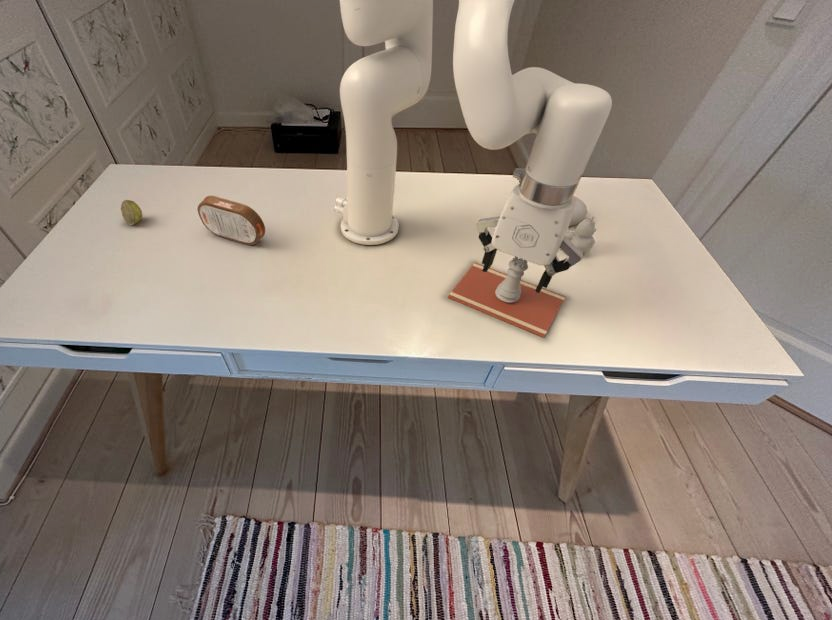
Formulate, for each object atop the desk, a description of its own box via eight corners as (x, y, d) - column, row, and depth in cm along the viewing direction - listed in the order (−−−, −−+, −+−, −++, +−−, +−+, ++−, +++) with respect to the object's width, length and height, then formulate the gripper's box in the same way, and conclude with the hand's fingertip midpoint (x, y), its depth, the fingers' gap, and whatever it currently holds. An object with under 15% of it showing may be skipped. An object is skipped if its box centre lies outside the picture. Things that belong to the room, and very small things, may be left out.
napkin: (447, 297, 78) (448, 295, 78) (474, 263, 84) (474, 261, 84) (543, 338, 71) (544, 336, 71) (564, 298, 78) (565, 296, 77)
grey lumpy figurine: (592, 259, 85) (610, 224, 79) (558, 256, 85) (574, 221, 79) (586, 243, 88) (604, 208, 82) (554, 241, 89) (569, 206, 83)
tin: (269, 242, 89) (262, 206, 82) (260, 251, 87) (253, 214, 81) (210, 226, 93) (199, 190, 86) (202, 233, 91) (190, 197, 85)
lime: (142, 227, 93) (132, 207, 89) (120, 227, 93) (110, 206, 89) (149, 216, 95) (140, 195, 92) (128, 216, 96) (118, 195, 92)
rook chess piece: (491, 288, 79) (503, 253, 73) (514, 287, 79) (528, 251, 73) (498, 305, 76) (511, 269, 70) (522, 303, 76) (537, 268, 70)
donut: (588, 230, 91) (577, 204, 97) (595, 216, 89) (583, 191, 95) (540, 228, 92) (533, 202, 98) (546, 214, 89) (538, 189, 95)
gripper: (481, 179, 62) (458, 271, 75) (603, 216, 56) (554, 309, 69) (501, 159, 66) (475, 250, 79) (616, 192, 60) (568, 284, 73)
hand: (512, 277), depth 74 cm, fingers open, 9 cm apart
